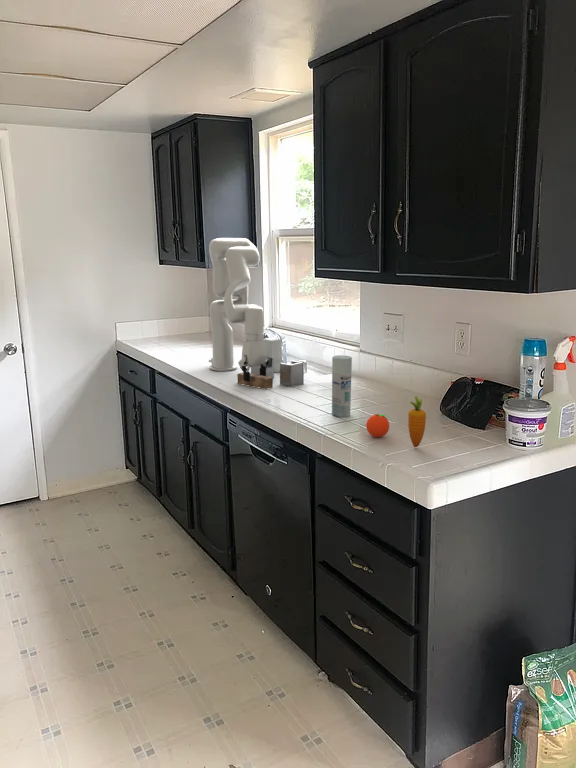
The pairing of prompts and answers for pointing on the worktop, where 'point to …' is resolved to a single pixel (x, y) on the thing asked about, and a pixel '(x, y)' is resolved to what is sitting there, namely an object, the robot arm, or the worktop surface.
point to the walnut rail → (256, 381)
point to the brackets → (284, 372)
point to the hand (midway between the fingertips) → (254, 379)
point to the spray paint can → (341, 385)
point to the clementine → (377, 425)
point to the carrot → (416, 422)
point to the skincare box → (274, 351)
